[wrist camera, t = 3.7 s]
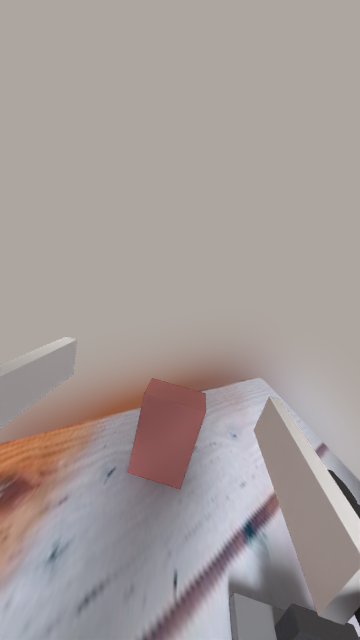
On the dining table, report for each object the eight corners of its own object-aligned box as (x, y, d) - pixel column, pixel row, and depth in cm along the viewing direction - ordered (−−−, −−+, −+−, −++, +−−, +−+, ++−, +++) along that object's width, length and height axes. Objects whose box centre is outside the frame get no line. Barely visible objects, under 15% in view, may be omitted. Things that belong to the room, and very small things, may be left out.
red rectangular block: (182, 464, 28) (205, 393, 25) (180, 489, 25) (206, 411, 21) (136, 449, 29) (152, 378, 25) (127, 472, 25) (144, 393, 22)
